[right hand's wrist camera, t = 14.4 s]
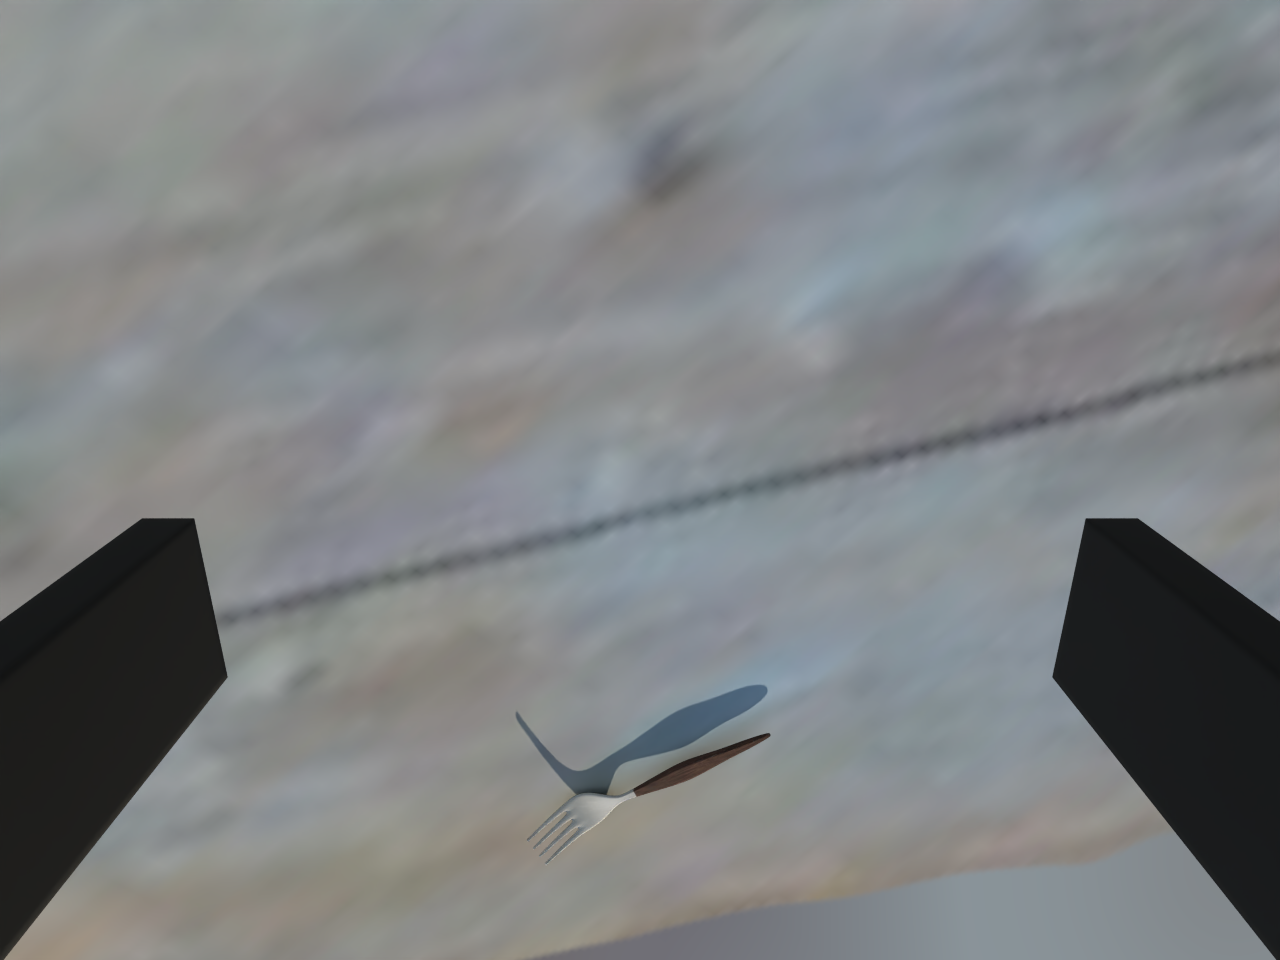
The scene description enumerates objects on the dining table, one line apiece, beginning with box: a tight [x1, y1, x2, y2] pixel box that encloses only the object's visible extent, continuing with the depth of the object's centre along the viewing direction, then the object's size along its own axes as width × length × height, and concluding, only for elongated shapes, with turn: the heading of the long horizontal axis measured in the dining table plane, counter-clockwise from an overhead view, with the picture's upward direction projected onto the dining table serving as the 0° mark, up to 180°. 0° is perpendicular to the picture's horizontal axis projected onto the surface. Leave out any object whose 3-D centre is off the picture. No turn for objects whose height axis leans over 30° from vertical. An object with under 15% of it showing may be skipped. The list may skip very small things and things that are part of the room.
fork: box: [527, 733, 771, 865], centre depth 50 cm, size 3×16×2 cm, turn 118°
